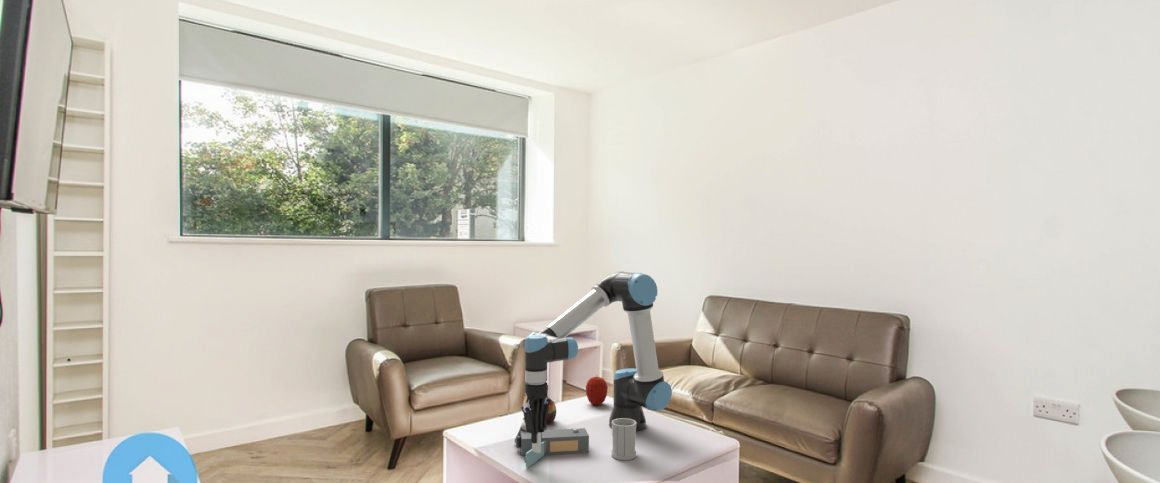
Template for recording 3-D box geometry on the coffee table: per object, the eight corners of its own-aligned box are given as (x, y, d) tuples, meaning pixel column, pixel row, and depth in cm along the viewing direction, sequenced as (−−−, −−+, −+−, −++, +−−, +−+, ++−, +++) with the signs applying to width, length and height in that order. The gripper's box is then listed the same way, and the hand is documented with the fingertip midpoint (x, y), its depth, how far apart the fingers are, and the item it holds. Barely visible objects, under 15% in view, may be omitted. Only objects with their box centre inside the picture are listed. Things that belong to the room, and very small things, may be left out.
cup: (610, 449, 202) (611, 416, 202) (635, 449, 202) (636, 416, 202) (611, 460, 192) (611, 426, 192) (637, 461, 192) (638, 426, 192)
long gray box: (584, 444, 207) (585, 426, 207) (588, 452, 199) (589, 433, 199) (515, 447, 203) (516, 429, 203) (517, 456, 195) (517, 437, 195)
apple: (607, 408, 251) (607, 377, 251) (585, 407, 252) (585, 377, 252) (607, 401, 262) (607, 372, 262) (586, 401, 262) (586, 371, 262)
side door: (527, 467, 184) (527, 453, 184) (524, 467, 185) (524, 452, 185) (546, 454, 196) (546, 440, 196) (543, 453, 197) (543, 440, 197)
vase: (555, 426, 226) (555, 389, 226) (528, 426, 226) (528, 388, 226) (556, 418, 237) (557, 382, 237) (531, 417, 237) (531, 381, 237)
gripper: (539, 376, 194) (540, 443, 194) (514, 384, 183) (515, 455, 184) (556, 379, 190) (557, 447, 190) (532, 388, 179) (532, 460, 179)
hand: (536, 451), depth 187 cm, fingers closed
